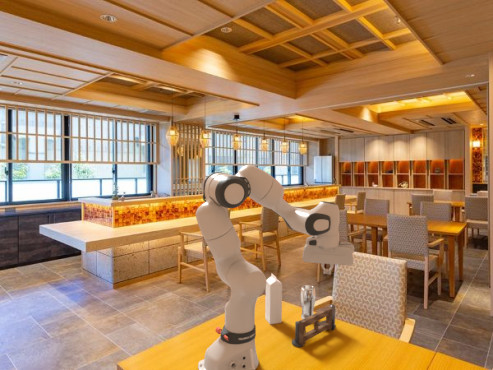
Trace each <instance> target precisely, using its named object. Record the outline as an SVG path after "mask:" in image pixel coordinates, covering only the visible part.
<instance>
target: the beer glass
mask: <svg viewBox="0 0 493 370" xmlns="http://www.w3.org/2000/svg"><path fill="white" fill-rule="evenodd" d="M315 303H316V287H315V286H313V285H311V284H304V285H302V286H301V288H300V304H301V320H303V319H305V318H307V317H309V316H311V315H313V314H314V309H315Z"/></svg>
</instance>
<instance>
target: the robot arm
mask: <svg viewBox="0 0 493 370" xmlns="http://www.w3.org/2000/svg"><path fill="white" fill-rule="evenodd" d="M284 195H285V188H284V186H283V185H282V184H281V183H280V182H279V180H277V179H276V178H275V177H274V176H272V175H270V174H269V173H267V172H266V171H264V170H262V169H261V168H259V167H258V166H255V165H253V164H246V165H244V166H241V168H240V169H239V170H238V171H237V172H236V173H235V174H230V173H227V172H221V171H216V172H211V173H210V174H208V175H207V176H206V177H205V179H204V181H203V191H202V200H203V201H204V202H203V203H201V204H200V206H198V208H197V209H196V211H195V217H196V221H197V225H198V228H199V231H200V233H201V235H202V238H203V239H204V242H205V243H206V245H207V247H208V249H209V251H210V253H211V254H212V255H211V256H212V257H213V260H214V263H215V270H216V274H217V276H218V278H219V279H220V280H221V281H222V283H224V284H226V285H227V286H228V287H229V288H230V291H231V293H230V297H229V300H228V301H227V302H226V304H225V305H224V325H223V327H222V328H221V327H220V326H216V327H215V330H214V331H215V333H217V334H218V335H220V336H219V337H218V338H217V339H216V340H214V341H213V342H212V344H210V346H208V347H207V348H206V351H205V353H204V359H201V360H200V361H198V365H197V369H199V370H256V369H257V368H258V366H259V363H260V362H259V358H258V354H257V349H256V341H255V339H256V336H257V335H256V334H257V333H256V332H257V330H256V328H257V327H256V323H255V316H256V314H255V312H256V305H257V301H258V298H259V297H260V296H261V295H262V294H263V293H264V292H265V291H266V284H267V281H266V280H267V277H266V275H265V273H264V272H262V270H261V269H260V268H259V267H258V266H256V265H254V264H252V263H251V262H249V261H247V260H246V259H245V257H244V256H243V253H242V251H241V246H242V241H241V240H240V237H239V235H238V233H237V231H236V229H235V227H234V225H233V223H232V221H231V219H230V217H229V212H228V209H235V208H238V207H240V206H242V204H243V203H244V202H245V201H246V199H248V198H250V199H251V200H252V201H253V202H255V203H256V204H259V205H260V206H262V207H264V208H266V209H269V210H271V211H273V212H274V213H275V214H277V215H278V216H280V218H282V220H283V221H284V223H285V225H286V226H287V227H288V229H290V230H291V231H293V232H298V233H300V234H305V235H307V238H306V239H305V245H304V247H303V251H302V262H304V263H312V264H313V263H314V264H320V266H321V269H322V270H323V273H322V274H323V275H331V274H332V271H333V269H334V265H338V266H349V267H350V266H353V264H354V255H353V254H354V252H355V245H354V244H353V243H351V242H350V241H340V231H339V230H340V229H339V228H340V227H339V226H340V220H341V219H340V218H341V217H340V214H341V213H340V209H339V205H338V204H337V203H335V202H331V201H325V200H323V201H319V202H318V204H317V205H316V206H315V207H313V208H312V209H306V208H302V207H299V206H293V205H291V204H290V203H289V202H287V201H286V200H285V199H284ZM308 236H309V237H308ZM326 264H327V265H329V268H325V265H326Z"/></svg>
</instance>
